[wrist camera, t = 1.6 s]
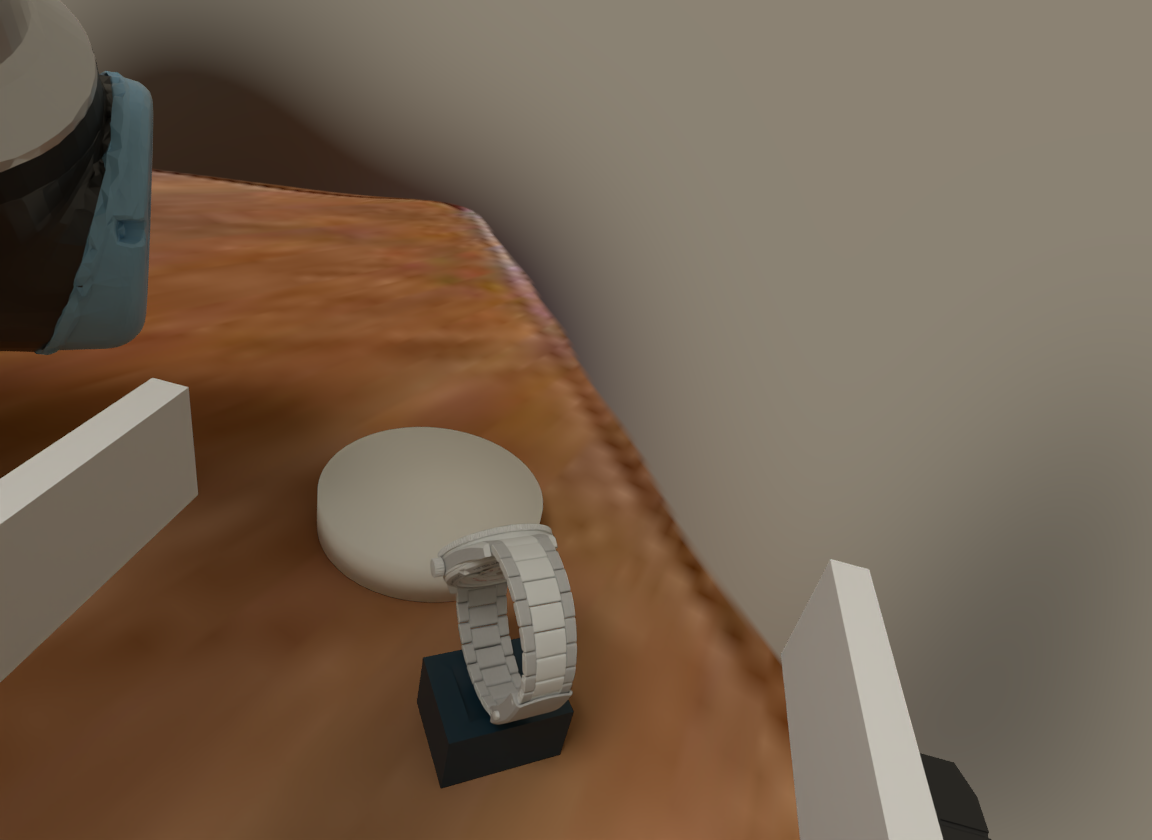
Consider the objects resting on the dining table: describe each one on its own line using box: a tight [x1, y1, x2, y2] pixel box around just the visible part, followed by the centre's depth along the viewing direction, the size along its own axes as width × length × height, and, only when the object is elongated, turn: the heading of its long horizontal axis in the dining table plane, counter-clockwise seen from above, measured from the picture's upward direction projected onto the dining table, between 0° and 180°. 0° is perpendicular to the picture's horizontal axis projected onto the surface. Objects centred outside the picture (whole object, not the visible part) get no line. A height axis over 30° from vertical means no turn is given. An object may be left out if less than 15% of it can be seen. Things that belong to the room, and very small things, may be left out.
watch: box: [417, 524, 577, 788], centre depth 30 cm, size 6×8×11 cm
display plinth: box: [317, 427, 543, 602], centre depth 43 cm, size 13×13×2 cm
